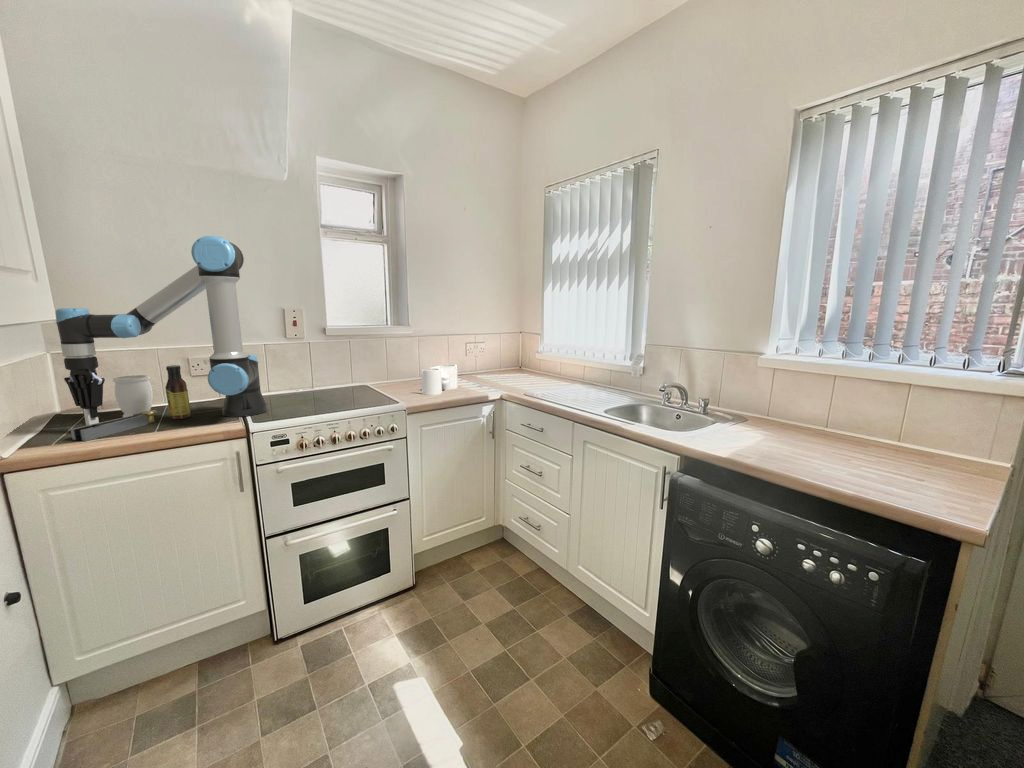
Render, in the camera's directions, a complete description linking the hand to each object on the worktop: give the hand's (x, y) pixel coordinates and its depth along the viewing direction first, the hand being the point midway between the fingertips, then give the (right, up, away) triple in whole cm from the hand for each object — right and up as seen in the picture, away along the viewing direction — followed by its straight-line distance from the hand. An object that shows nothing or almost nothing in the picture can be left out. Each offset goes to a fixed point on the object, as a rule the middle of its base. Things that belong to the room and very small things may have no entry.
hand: (93, 426), depth 138 cm
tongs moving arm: (+6, -1, +3) cm, 7 cm away
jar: (-3, +2, +20) cm, 20 cm away
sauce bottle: (+15, +1, +18) cm, 23 cm away
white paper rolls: (+104, +11, +74) cm, 128 cm away
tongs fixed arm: (+7, -1, +2) cm, 8 cm away
